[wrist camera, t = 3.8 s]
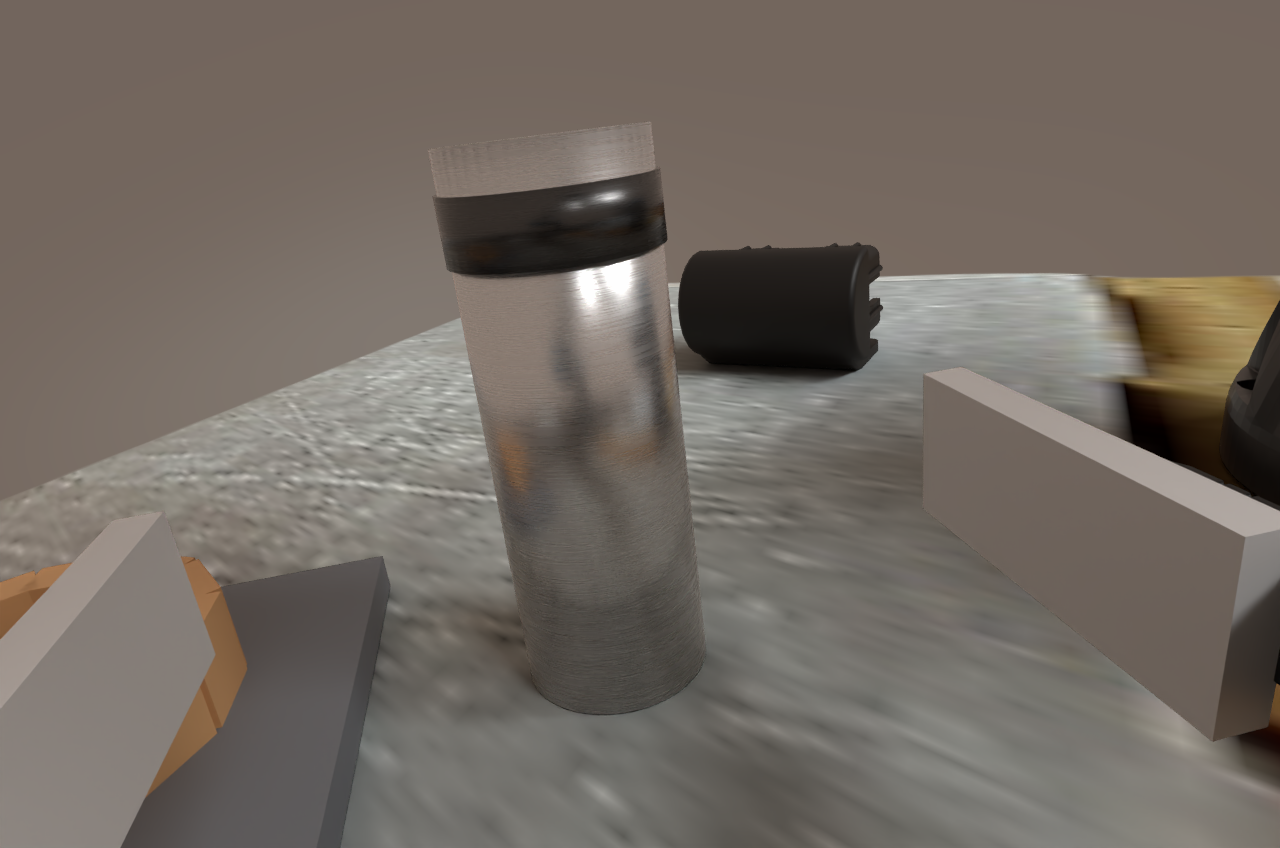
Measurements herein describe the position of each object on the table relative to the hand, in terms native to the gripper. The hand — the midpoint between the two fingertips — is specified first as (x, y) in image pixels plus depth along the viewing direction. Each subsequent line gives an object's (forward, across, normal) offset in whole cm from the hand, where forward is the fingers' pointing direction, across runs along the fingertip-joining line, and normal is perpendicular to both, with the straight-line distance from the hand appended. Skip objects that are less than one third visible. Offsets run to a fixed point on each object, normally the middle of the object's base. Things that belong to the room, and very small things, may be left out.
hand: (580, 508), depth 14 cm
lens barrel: (+7, +1, -8) cm, 10 cm away
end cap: (+30, +15, -8) cm, 35 cm away
